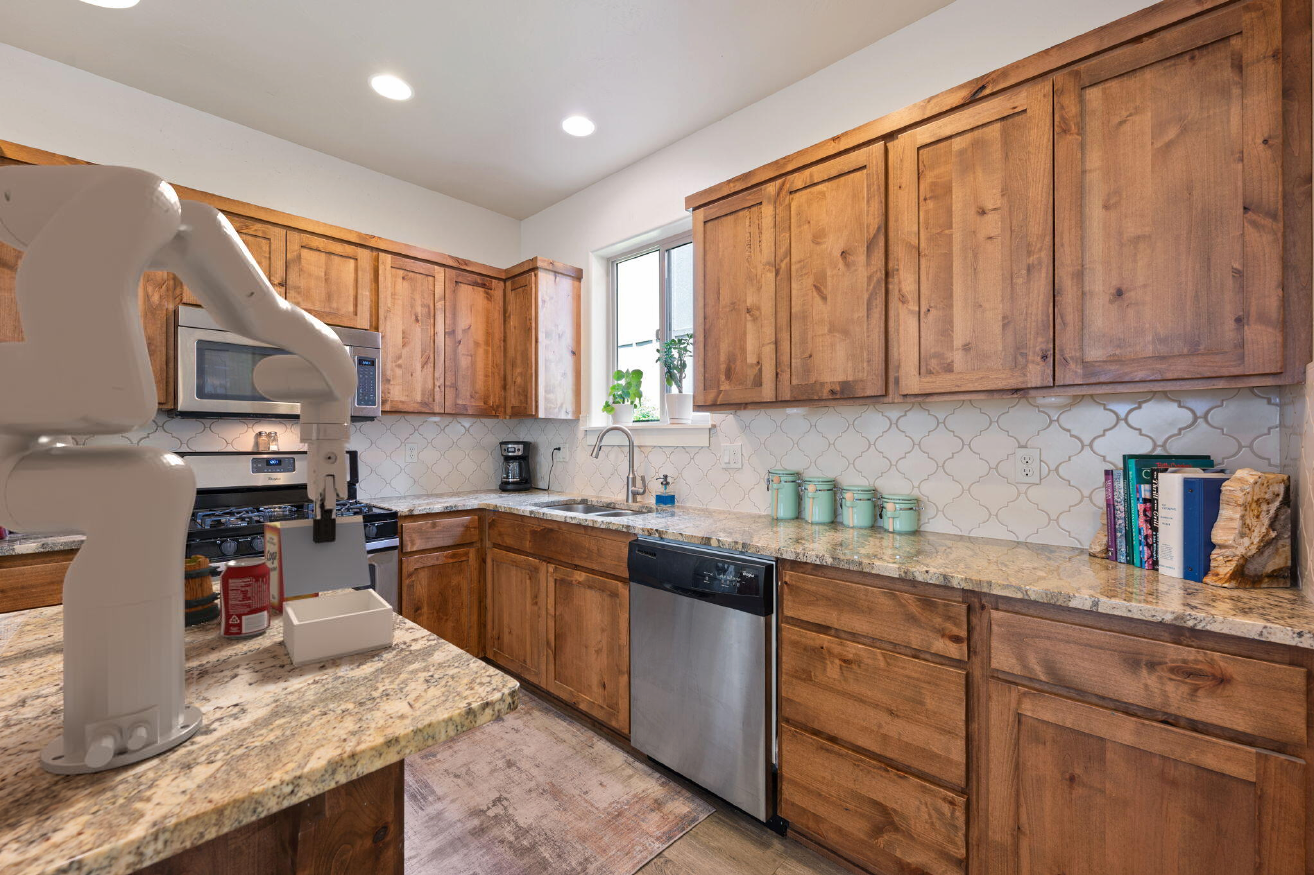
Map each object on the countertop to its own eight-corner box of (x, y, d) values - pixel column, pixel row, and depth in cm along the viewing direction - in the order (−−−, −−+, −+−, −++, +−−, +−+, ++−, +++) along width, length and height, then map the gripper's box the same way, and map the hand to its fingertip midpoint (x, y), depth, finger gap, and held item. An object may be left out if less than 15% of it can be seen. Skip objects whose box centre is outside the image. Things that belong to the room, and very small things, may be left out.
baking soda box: (264, 603, 112) (264, 521, 112) (301, 596, 117) (301, 517, 117) (279, 613, 105) (279, 526, 105) (318, 605, 110) (318, 522, 110)
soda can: (275, 633, 94) (275, 561, 94) (224, 644, 90) (224, 568, 90) (264, 624, 99) (264, 555, 99) (216, 634, 94) (215, 561, 94)
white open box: (392, 646, 89) (392, 607, 89) (294, 667, 81) (294, 624, 81) (371, 623, 100) (371, 588, 100) (283, 639, 92) (283, 602, 92)
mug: (214, 607, 109) (214, 547, 109) (230, 618, 102) (230, 554, 102) (121, 625, 99) (121, 558, 99) (133, 638, 92) (133, 567, 92)
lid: (362, 515, 105) (361, 516, 105) (280, 521, 97) (279, 522, 97) (370, 583, 99) (370, 584, 100) (284, 596, 92) (284, 597, 92)
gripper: (358, 434, 95) (357, 545, 95) (341, 436, 107) (340, 534, 106) (306, 433, 90) (304, 550, 90) (294, 435, 102) (293, 538, 102)
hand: (324, 541), depth 98 cm, fingers closed
